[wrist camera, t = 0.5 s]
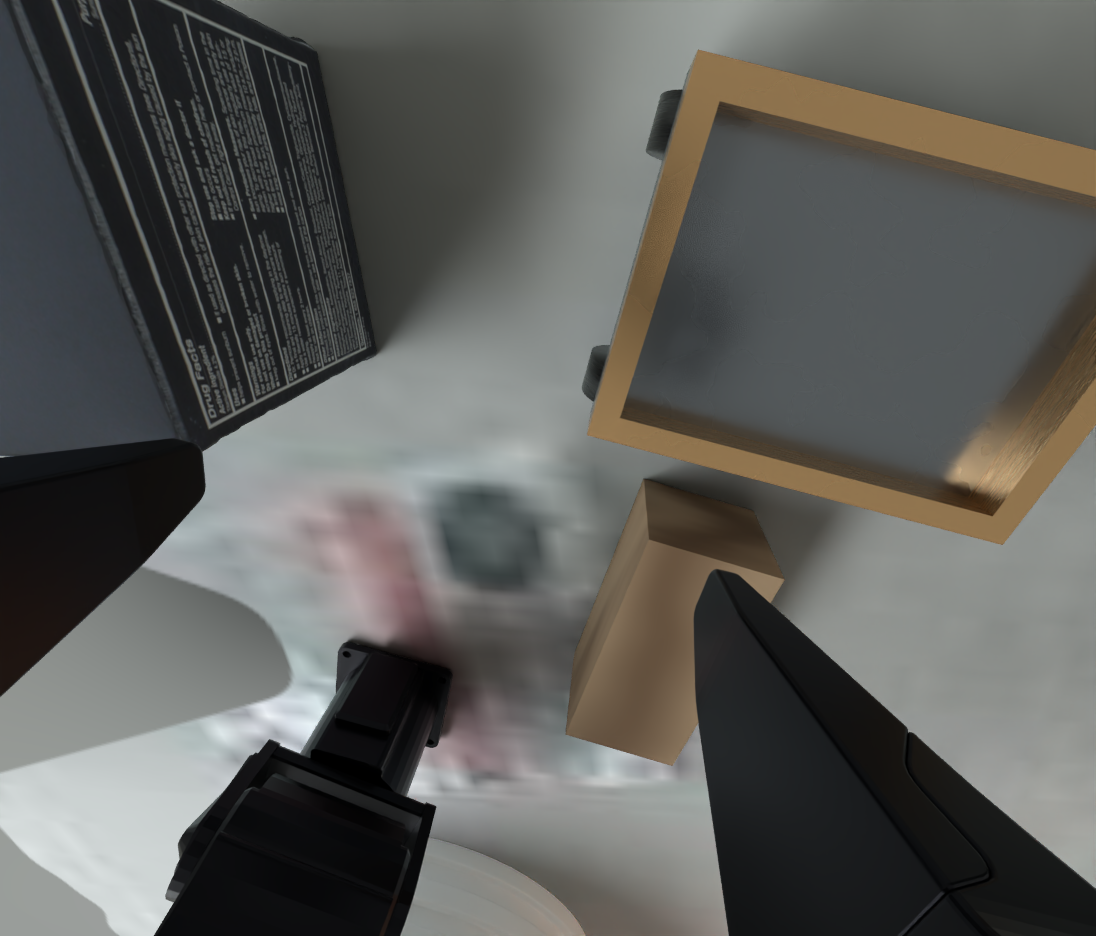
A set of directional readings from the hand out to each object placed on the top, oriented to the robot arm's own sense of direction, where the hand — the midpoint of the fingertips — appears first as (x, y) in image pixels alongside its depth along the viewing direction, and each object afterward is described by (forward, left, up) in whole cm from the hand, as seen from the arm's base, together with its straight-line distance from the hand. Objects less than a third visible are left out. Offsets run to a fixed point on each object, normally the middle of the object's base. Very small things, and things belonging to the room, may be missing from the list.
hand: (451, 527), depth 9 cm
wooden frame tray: (+4, -9, -13) cm, 16 cm away
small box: (+2, +11, -13) cm, 18 cm away
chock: (-10, -8, -13) cm, 18 cm away
